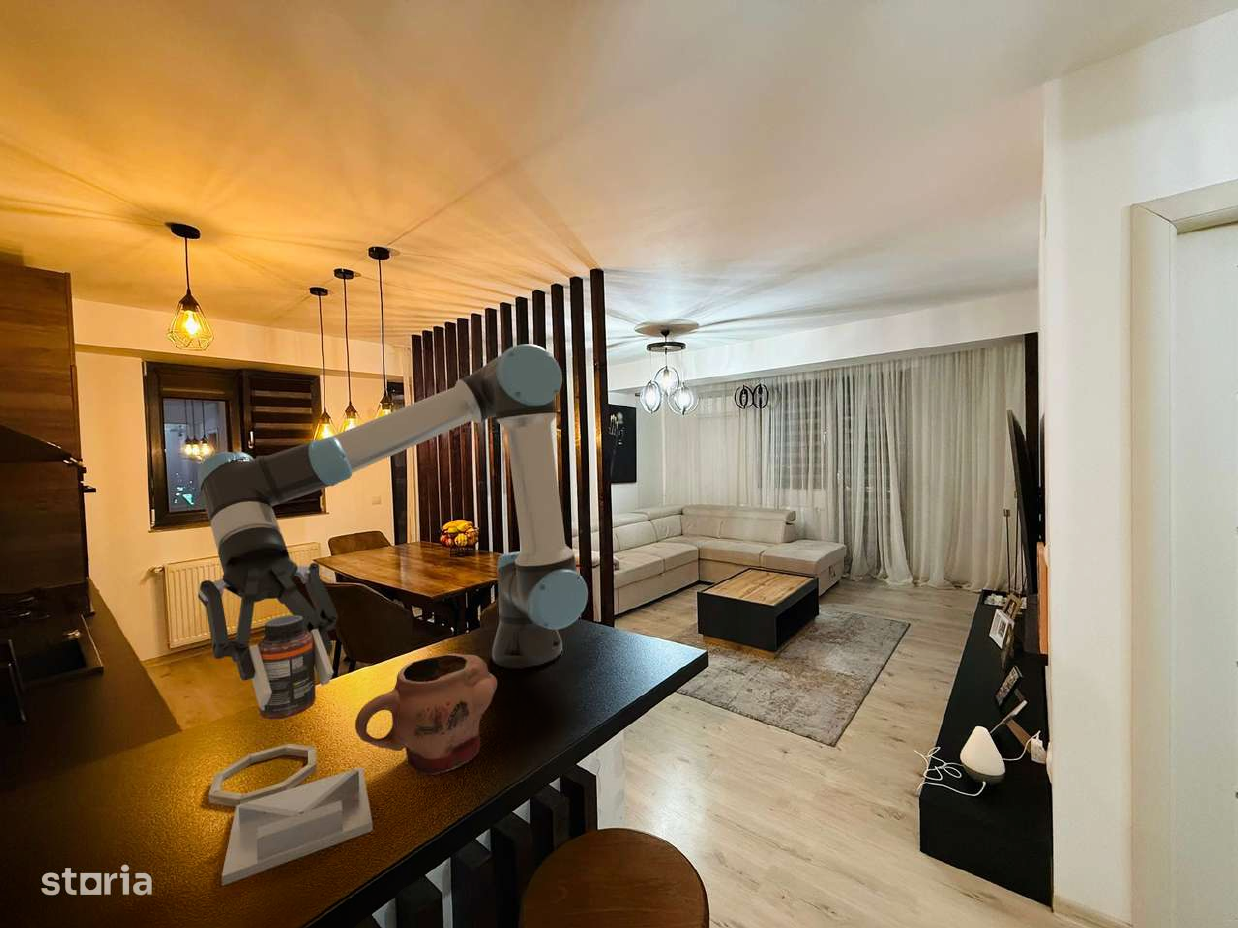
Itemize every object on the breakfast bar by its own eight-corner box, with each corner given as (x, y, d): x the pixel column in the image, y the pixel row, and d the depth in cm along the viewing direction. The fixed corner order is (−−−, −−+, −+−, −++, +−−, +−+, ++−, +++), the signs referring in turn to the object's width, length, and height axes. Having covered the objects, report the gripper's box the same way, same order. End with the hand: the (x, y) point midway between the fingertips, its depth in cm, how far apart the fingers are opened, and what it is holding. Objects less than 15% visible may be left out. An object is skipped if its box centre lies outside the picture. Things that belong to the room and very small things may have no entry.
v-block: (236, 813, 63) (235, 785, 63) (362, 773, 71) (361, 748, 71) (222, 885, 52) (220, 851, 52) (372, 830, 60) (371, 800, 60)
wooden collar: (315, 742, 79) (315, 736, 79) (317, 783, 69) (316, 775, 69) (218, 769, 73) (218, 762, 73) (203, 818, 63) (203, 810, 63)
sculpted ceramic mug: (381, 819, 61) (376, 705, 61) (342, 779, 70) (338, 678, 69) (516, 746, 76) (513, 654, 76) (471, 720, 84) (469, 637, 84)
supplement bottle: (282, 698, 67) (279, 612, 67) (326, 698, 66) (323, 611, 66) (246, 722, 61) (243, 627, 61) (294, 721, 61) (291, 627, 60)
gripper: (317, 548, 81) (368, 677, 70) (157, 571, 66) (192, 738, 56) (329, 516, 77) (385, 647, 67) (164, 533, 62) (202, 704, 52)
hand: (297, 688), depth 61 cm, fingers closed on supplement bottle, 6 cm apart
